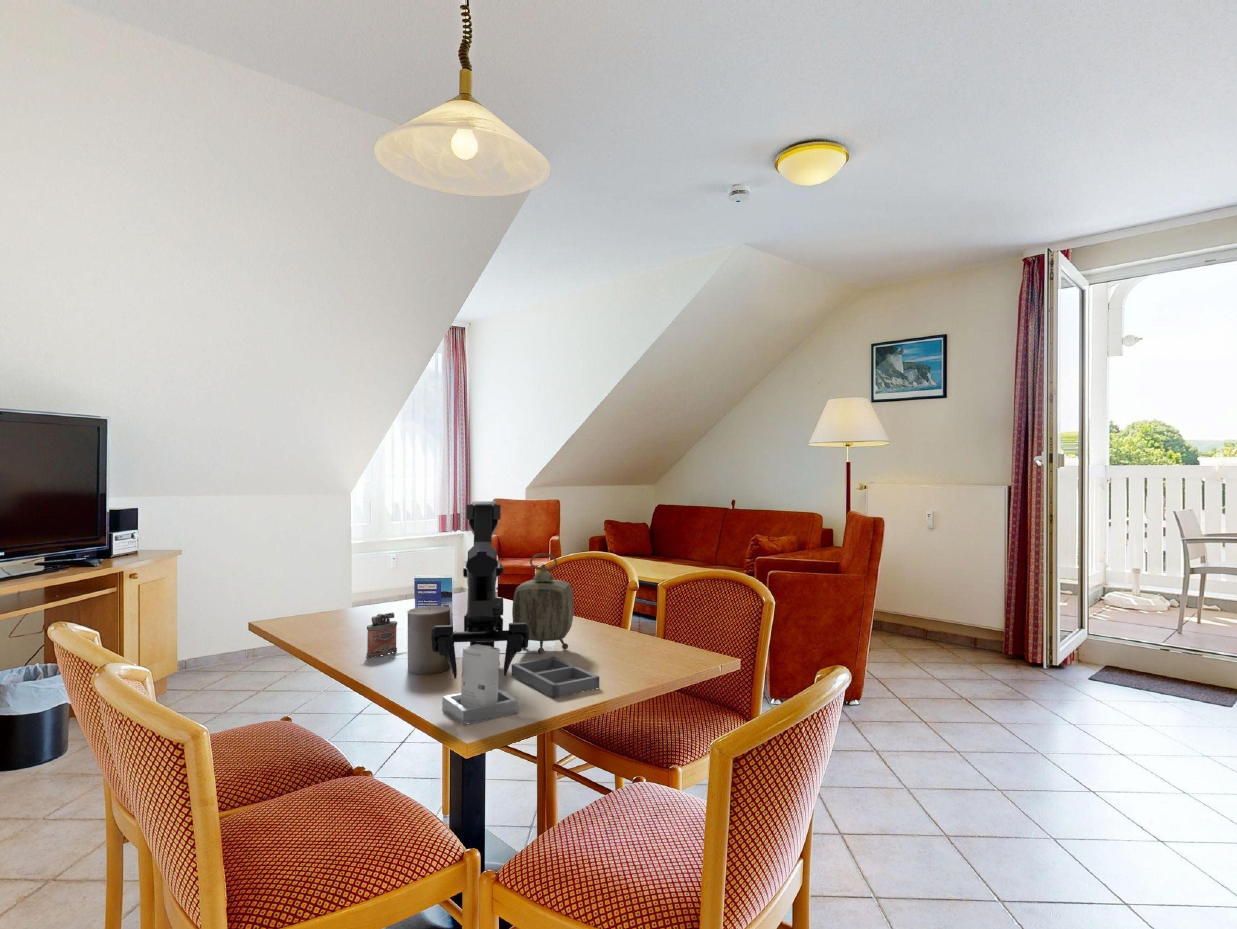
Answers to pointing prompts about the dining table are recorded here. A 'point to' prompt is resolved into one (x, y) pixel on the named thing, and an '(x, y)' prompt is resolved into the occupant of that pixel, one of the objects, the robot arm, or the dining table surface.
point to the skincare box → (479, 675)
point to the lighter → (381, 635)
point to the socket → (479, 708)
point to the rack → (555, 676)
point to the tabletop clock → (544, 606)
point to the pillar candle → (425, 639)
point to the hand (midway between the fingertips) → (480, 676)
